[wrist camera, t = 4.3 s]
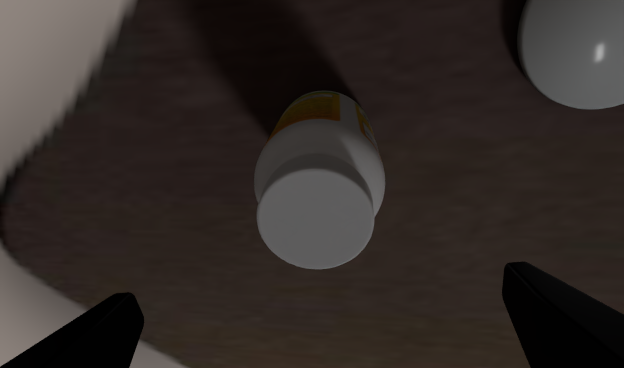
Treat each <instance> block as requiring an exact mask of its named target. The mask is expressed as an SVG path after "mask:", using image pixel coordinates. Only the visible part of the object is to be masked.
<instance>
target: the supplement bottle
mask: <svg viewBox="0 0 624 368" xmlns="http://www.w3.org/2000/svg"><path fill="white" fill-rule="evenodd" d="M254 188H255V194H256V198H257V201H258V207H257V224H258V229H259V232H260V234H261V237H262V239H263V240H264V242H265V243H266V245H267V246H268V247H269V249H270V250H271V251H272V252H274V253H275V254H276V255H277V256H278V257H280V258H281V259H283V260H285V261H286V262H288V263H290V264H293V265H296V266H299V267H302V268H309V269H327V268H332V267H336V266H339V265H342V264H344V263H346V262H348V261H350V260H351V259H353V258H354V257H356V256H357V255H358V254H359V253H360V252H361V251H362V250H363V249H364V248H365V246H366V245H367V243H368V241H369V239H370V237H371V235H372V232H373V228H374V217H375V215H376V214H377V212H378V210H379V208H380V206H381V203H382V200H383V196H384V191H385V175H384V168H383V164H382V161H381V158H380V154H379V151H378V148H377V144H376V141H375V138H374V135H373V132H372V128H371V125H370V123H369V120H368V118H367V116H366V114H365V113H364V111H363V110H362V108H361V107H360V106H359V105H358V104H357V103H356V102H355V101H353V100H352V99H351V98H349V97H348V96H346V95H343V94H341V93H338V92H333V91H315V92H311V93H308V94H305V95H303V96H301V97H299V98H298V99H296V100H295V101H294V102H293V103H292V104H291V105H290V106H289V107H288V108H287V109H286V110H285V112H284V113H283V115H282V116H281V118H280V120H279V122H278V123H277V125H276V127H275V129H274V131H273V132H272V134H271V135H270V137H269V139H268V140H267V142H266V144H265V146H264V148H263V149H262V152H261V154H260V156H259V159H258V162H257V165H256V169H255V175H254Z"/></svg>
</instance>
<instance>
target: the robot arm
mask: <svg viewBox="0 0 624 368" xmlns="http://www.w3.org/2000/svg"><path fill="white" fill-rule="evenodd" d="M502 296H503V301H504V303H505V306H506V308H507V311H508V313H509V316H510V318H511V321H512V323H513V326H514V328H515V331H516V333H517V336H518V338H519V341H520V343H521V345H522V348H523V350H524V353H525V355H526V358H527V360H528V362H529V365H530V367H531V368H624V314H622V313H620V312H618V311H616V310H614V309H613V308H611V307H609V306H607V305H605V304H603V303H601V302H600V301H598V300H596V299H594V298H592V297H590V296H589V295H587V294H585V293H583V292H581V291H579V290H577V289H576V288H574V287H572V286H570V285H568V284H566V283H565V282H563V281H561V280H559V279H557V278H555V277H553V276H552V275H550V274H548V273H546V272H544V271H542V270H541V269H539V268H537V267H535V266H533V265H531V264H529V263H527V262H512V263H507V264H506V265H505V268H504V277H503V287H502ZM143 326H144V316H143V314H142V311H141V309H140V307H139V305H138V302H137V300H136V298H135V296H134V295H133V294H132V293H129V292H127V293H116V294H113V295H112V296H110V297H108V298H107V299H105V300H104V301H102V302H101V303H99V304H98V305H96V306H94V307H93V308H91V309H90V310H88V311H87V312H85V313H84V314H82V315H80V316H79V317H77V318H76V319H74V320H73V321H71V322H70V323H68V324H66V325H65V326H63V327H62V328H60V329H59V330H57V331H55V332H54V333H52V334H51V335H49V336H48V337H46V338H44V339H43V340H41V341H40V342H38V343H37V344H35V345H34V346H32V347H30V348H29V349H27V350H26V351H24V352H23V353H21V354H19V355H18V356H16V357H15V358H13V359H12V360H10V361H9V362H7V363H5V364H4V365H2V366H1V367H0V368H129V367H130V364H131V361H132V358H133V355H134V352H135V349H136V346H137V344H138V341H139V338H140V335H141V332H142V329H143Z"/></svg>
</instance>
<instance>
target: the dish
mask: <svg viewBox="0 0 624 368" xmlns="http://www.w3.org/2000/svg"><path fill="white" fill-rule="evenodd" d="M517 49H518V57H519V61H520V64H521V67H522V70H523V72H524V74H525V76H526V78H527V79H528V81H529V82H530V84H531V85H532V86H533V87H534V88H535V89H536V90H537V91H538V92H540V93H541V94H542V95H544V96H545V97H547V98H549V99H551V100H553V101H555V102H558V103H560V104H563V105H566V106H569V107H574V108H579V109H603V108H608V107H614V106H617V105H620V104H624V0H526V2H525V5H524V7H523V10H522V13H521V17H520V21H519V26H518V33H517Z"/></svg>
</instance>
